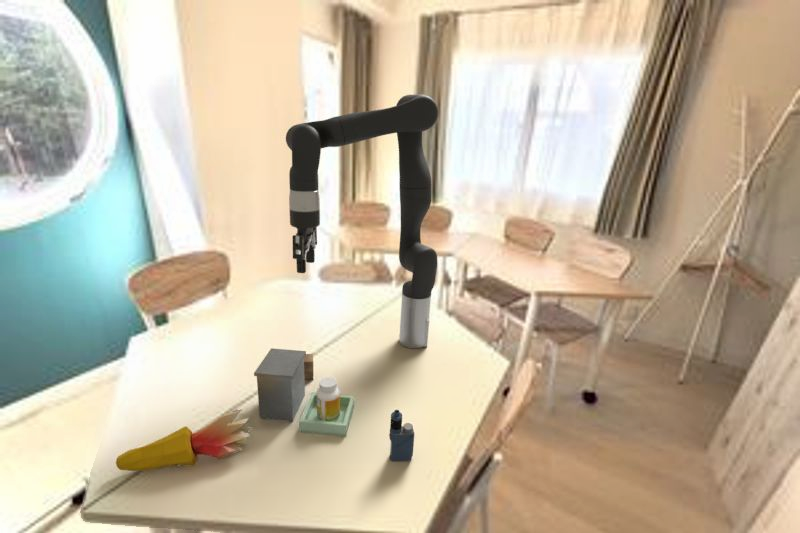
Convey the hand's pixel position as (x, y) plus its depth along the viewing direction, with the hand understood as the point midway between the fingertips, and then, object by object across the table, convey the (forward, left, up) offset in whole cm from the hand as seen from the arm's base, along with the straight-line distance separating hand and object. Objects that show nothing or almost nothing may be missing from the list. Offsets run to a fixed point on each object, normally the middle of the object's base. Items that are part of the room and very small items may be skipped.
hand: (306, 267), depth 110 cm
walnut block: (-1, +6, -30) cm, 31 cm away
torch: (+15, +37, -30) cm, 50 cm away
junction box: (+1, +19, -30) cm, 36 cm away
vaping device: (-29, +32, -30) cm, 53 cm away
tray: (-11, +22, -30) cm, 39 cm away
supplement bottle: (-11, +22, -30) cm, 39 cm away
